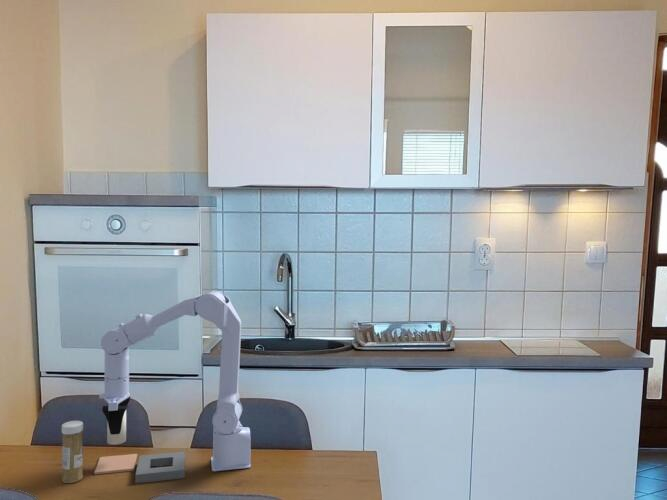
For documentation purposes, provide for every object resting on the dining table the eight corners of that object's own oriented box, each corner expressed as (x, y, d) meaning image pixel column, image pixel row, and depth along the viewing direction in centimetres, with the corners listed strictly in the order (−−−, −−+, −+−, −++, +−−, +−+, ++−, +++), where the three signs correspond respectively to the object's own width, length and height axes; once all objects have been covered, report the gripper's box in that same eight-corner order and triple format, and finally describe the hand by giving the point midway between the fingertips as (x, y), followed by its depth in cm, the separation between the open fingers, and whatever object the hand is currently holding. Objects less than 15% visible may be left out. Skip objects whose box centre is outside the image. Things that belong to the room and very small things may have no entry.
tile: (137, 455, 138) (137, 453, 138) (133, 470, 129) (133, 468, 129) (100, 459, 135) (100, 457, 135) (94, 474, 127) (94, 472, 127)
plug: (127, 437, 135) (127, 406, 135) (124, 443, 130) (124, 411, 130) (108, 438, 134) (109, 407, 134) (105, 445, 129) (105, 413, 129)
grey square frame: (184, 459, 136) (184, 451, 136) (184, 478, 126) (184, 469, 125) (139, 463, 133) (139, 455, 133) (135, 483, 123) (135, 474, 123)
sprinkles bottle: (84, 481, 123) (84, 424, 123) (62, 485, 121) (62, 427, 121) (81, 473, 127) (81, 418, 127) (60, 478, 125) (60, 422, 124)
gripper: (104, 370, 138) (104, 421, 138) (94, 385, 124) (94, 442, 124) (132, 368, 140) (132, 419, 140) (126, 383, 126) (126, 439, 126)
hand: (116, 430), depth 132 cm, fingers closed on plug, 4 cm apart
